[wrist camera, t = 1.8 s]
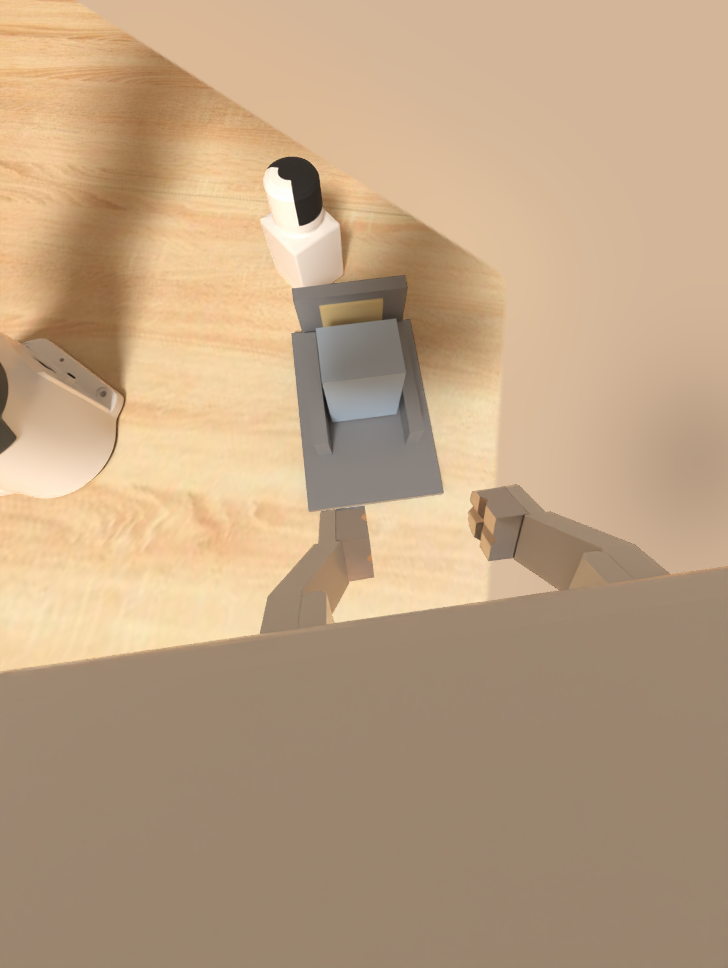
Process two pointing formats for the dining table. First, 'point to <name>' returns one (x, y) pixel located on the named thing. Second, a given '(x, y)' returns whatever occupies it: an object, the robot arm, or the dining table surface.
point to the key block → (361, 369)
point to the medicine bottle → (300, 225)
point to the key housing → (369, 441)
